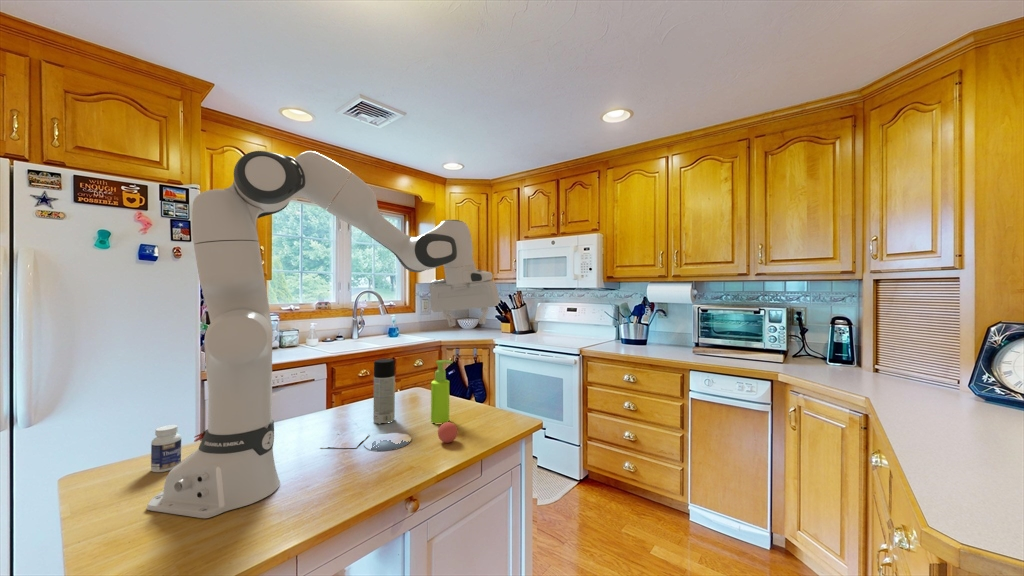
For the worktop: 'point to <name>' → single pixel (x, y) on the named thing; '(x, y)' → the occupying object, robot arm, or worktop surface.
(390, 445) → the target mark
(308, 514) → the worktop surface
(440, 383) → the soap dispenser
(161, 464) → the pill bottle
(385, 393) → the spray can
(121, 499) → the worktop surface
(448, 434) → the ball
